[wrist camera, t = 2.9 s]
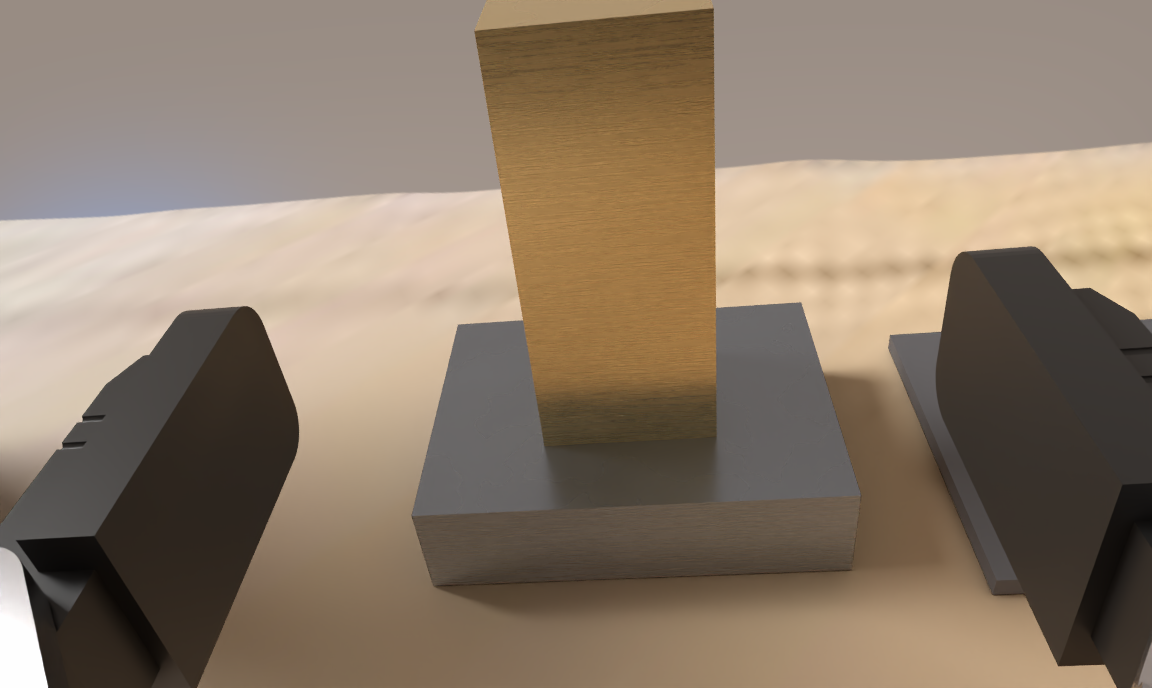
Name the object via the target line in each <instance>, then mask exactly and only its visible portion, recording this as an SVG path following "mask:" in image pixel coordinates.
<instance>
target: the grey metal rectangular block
mask: <svg viewBox="0 0 1152 688" xmlns="http://www.w3.org/2000/svg"><path fill="white" fill-rule="evenodd" d="M716 404H717V437H710V438H691V439H671V440H652V441H633V442H614V443H594V444H575V445H556V446H544V441H543V435H542V429H541V423H540V417H539V411H538V405H537V400H536V394H535V388H534V382H533V376H532V370H531V364H530V358H529V352H528V346H527V340H526V334H525V328H524V322H523V321H507V322H492V323H476V324H461V325H458V327H457V331H456V335H455V340H454V344H453V348H452V352H451V356H450V360H449V364H448V368H447V372H446V377H445V381H444V385H443V389H442V393H441V397H440V401H439V405H438V409H437V414H436V418H435V422H434V426H433V430H432V434H431V438H430V442H429V446H428V451H427V455H426V459H425V463H424V467H423V471H422V475H421V479H420V484H419V488H418V492H417V496H416V500H415V504H414V508H413V512H412V519H413V522H414V525H415V529H416V532H417V535H418V538H419V541H420V545H421V548H422V551H423V554H424V557H425V561H426V564H427V567H428V570H429V573H430V577H431V580H432V583H433V586H442V585H468V584H494V583H520V582H546V581H572V580H598V579H624V578H650V577H676V576H702V575H728V574H754V573H780V572H806V571H833V570H851V568H852V561H853V554H854V546H855V539H856V531H857V524H858V516H859V509H860V501H861V493H860V490H859V487H858V484H857V480H856V477H855V474H854V471H853V468H852V464H851V461H850V458H849V455H848V451H847V448H846V445H845V442H844V439H843V435H842V432H841V429H840V426H839V423H838V419H837V416H836V413H835V410H834V407H833V403H832V400H831V397H830V394H829V390H828V387H827V384H826V381H825V378H824V374H823V371H822V368H821V365H820V362H819V358H818V355H817V352H816V349H815V346H814V342H813V339H812V336H811V333H810V329H809V326H808V323H807V320H806V317H805V313H804V310H803V307H802V304H801V303H785V304H770V305H754V306H739V307H723V308H716Z"/></svg>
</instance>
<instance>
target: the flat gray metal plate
mask: <svg viewBox="0 0 1152 688" xmlns="http://www.w3.org/2000/svg"><path fill="white" fill-rule="evenodd" d="M1140 321H1141V322H1142V323H1143V324H1144V325H1145V326H1146V328H1147V329H1148V330H1149V331H1150V332H1151V333H1152V319H1146V320H1140ZM940 338H941V332H933V333H917V334H900V335H890V340H889V347H888V349H889V351H890V353H891V356H892V358H893V360H894V363H895V365H896V368H897V370H898V372H899V375H900V377H901V379H902V382H903V384H904V386H905V389H906V391H907V394H908V396H909V398H910V401H911V403H912V405H913V408H914V410H915V412H916V415H917V417H918V420H919V422H920V424H921V427H922V429H923V431H924V434H925V436H926V438H927V441H928V443H929V446H930V448H931V450H932V453H933V455H934V457H935V460H936V462H937V464H938V467H939V469H940V472H941V474H942V476H943V479H944V481H945V483H946V486H947V488H948V490H949V493H950V495H951V498H952V500H953V502H954V505H955V507H956V509H957V512H958V514H959V516H960V519H961V521H962V524H963V526H964V528H965V531H966V533H967V535H968V538H969V540H970V542H971V545H972V547H973V550H974V552H975V554H976V557H977V559H978V561H979V564H980V566H981V568H982V571H983V573H984V576H985V578H986V580H987V583H988V585H989V587H990V590H991V592H992V594H993V595H997V594H1024V592H1023V590H1022V588H1021V585H1020V583H1019V581H1018V579H1017V577H1016V575H1015V573H1014V571H1013V568H1012V566H1011V564H1010V562H1009V560H1008V558H1007V556H1006V553H1005V551H1004V549H1003V547H1002V545H1001V543H1000V541H999V538H998V536H997V534H996V532H995V530H994V528H993V526H992V523H991V521H990V519H989V517H988V515H987V513H986V511H985V509H984V506H983V504H982V502H981V500H980V498H979V496H978V494H977V491H976V489H975V487H974V485H973V483H972V481H971V479H970V476H969V474H968V472H967V470H966V468H965V466H964V464H963V461H962V459H961V457H960V455H959V453H958V451H957V449H956V447H955V444H954V442H953V440H952V438H951V436H950V434H949V432H948V429H947V427H946V425H945V423H944V421H943V418H942V416H941V412H940V409H939V405H938V400H937V393H936V363H937V356H938V350H939V344H940Z"/></svg>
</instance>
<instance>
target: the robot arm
mask: <svg viewBox="0 0 1152 688" xmlns="http://www.w3.org/2000/svg"><path fill="white" fill-rule="evenodd" d="M936 393H937V400H938V405H939V409H940V412H941V416H942V418H943V421H944V423H945V425H946V427H947V429H948V432H949V434H950V436H951V438H952V440H953V442H954V444H955V447H956V449H957V451H958V453H959V455H960V457H961V459H962V461H963V464H964V466H965V468H966V470H967V472H968V474H969V476H970V479H971V481H972V483H973V485H974V487H975V489H976V491H977V494H978V496H979V498H980V500H981V502H982V504H983V506H984V509H985V511H986V513H987V515H988V517H989V519H990V521H991V523H992V526H993V528H994V530H995V532H996V534H997V536H998V538H999V541H1000V543H1001V545H1002V547H1003V549H1004V551H1005V553H1006V556H1007V558H1008V560H1009V562H1010V564H1011V566H1012V568H1013V571H1014V573H1015V575H1016V577H1017V579H1018V581H1019V583H1020V585H1021V588H1022V590H1023V592H1024V594H1025V596H1026V598H1027V600H1028V603H1029V605H1030V607H1031V609H1032V611H1033V613H1034V615H1035V618H1036V620H1037V622H1038V624H1039V626H1040V628H1041V630H1042V632H1043V635H1044V637H1045V639H1046V641H1047V643H1048V645H1049V647H1050V650H1051V652H1052V654H1053V656H1054V658H1055V660H1056V662H1057V665H1058V666H1078V665H1106V667H1107V669H1108V671H1109V673H1110V675H1111V677H1112V679H1113V681H1114V683H1115V685H1116V687H1117V688H1152V333H1151V332H1150V331H1149V330H1148V329H1147V328H1146V326H1145V325H1144V324H1143V323H1142V322H1141V321H1140V320H1139V318H1138V317H1137V316H1136V315H1135V314H1134V313H1132V312H1130V311H1129V310H1127V309H1125V308H1124V307H1122V306H1120V305H1118V304H1117V303H1115V302H1113V301H1112V300H1110V299H1108V298H1106V297H1105V296H1103V295H1101V294H1100V293H1098V292H1096V291H1094V290H1093V289H1091V288H1083V289H1071V288H1070V286H1069V285H1068V284H1067V283H1066V281H1065V280H1064V279H1063V278H1062V276H1061V275H1060V274H1059V273H1058V271H1057V270H1056V269H1055V268H1054V266H1053V265H1052V264H1051V263H1050V261H1049V260H1048V259H1047V258H1046V256H1045V255H1044V254H1043V253H1042V252H1041V251H1040V250H1039V249H1038V248H1036V247H1032V246H1031V247H1018V248H1006V249H993V250H980V251H967V252H961V253H960V254H958V256H957V257H956V259H955V261H954V263H953V267H952V271H951V276H950V282H949V288H948V294H947V300H946V307H945V313H944V319H943V325H942V331H941V338H940V344H939V350H938V356H937V363H936ZM82 418H83V421H82V422H80V423H77V424H76V425H75V426H74V428H73V429H72V430H71V432H70V433H69V434H68V435H67V437H66V438H65V439H64V441H63V442H62V444H63V448H62V449H61V450H56V451H55V453H54V454H53V455H52V457H51V458H50V459H49V461H48V462H47V463H46V465H45V466H44V467H43V469H42V470H41V471H40V473H39V474H38V475H37V477H36V478H35V479H34V480H33V482H32V483H31V484H30V486H29V487H28V488H27V490H26V491H25V492H24V494H23V495H22V496H21V498H20V499H19V500H18V502H17V503H16V504H15V506H14V507H13V508H12V510H11V511H10V512H9V514H8V515H7V516H6V518H5V519H4V520H3V522H2V523H1V524H0V688H197V686H198V684H199V681H200V679H201V677H202V674H203V672H204V670H205V667H206V665H207V663H208V660H209V658H210V655H211V653H212V651H213V648H214V646H215V644H216V641H217V639H218V637H219V634H220V632H221V630H222V627H223V625H224V623H225V620H226V618H227V616H228V613H229V611H230V609H231V606H232V604H233V602H234V599H235V597H236V595H237V592H238V590H239V588H240V585H241V583H242V581H243V578H244V576H245V574H246V571H247V569H248V567H249V564H250V562H251V559H252V557H253V555H254V552H255V550H256V548H257V545H258V543H259V541H260V538H261V536H262V534H263V531H264V529H265V527H266V524H267V522H268V520H269V517H270V515H271V513H272V510H273V508H274V506H275V503H276V501H277V499H278V496H279V494H280V492H281V489H282V487H283V485H284V482H285V480H286V478H287V475H288V473H289V470H290V468H291V466H292V463H293V461H294V459H295V456H296V452H297V448H298V442H299V423H298V416H297V411H296V407H295V404H294V402H293V399H292V396H291V394H290V391H289V389H288V386H287V384H286V381H285V379H284V376H283V373H282V371H281V368H280V366H279V363H278V361H277V358H276V356H275V353H274V350H273V348H272V345H271V343H270V340H269V338H268V335H267V333H266V330H265V327H264V325H263V323H262V320H261V319H260V317H259V315H258V314H257V313H256V312H255V310H253V309H252V308H250V307H248V306H242V307H229V308H216V309H203V310H191V311H185V312H182V313H181V314H179V315H178V316H177V317H176V319H175V320H174V321H173V323H172V324H171V326H170V327H169V328H168V330H167V331H166V332H165V334H164V335H163V337H162V338H161V339H160V341H159V342H158V344H157V345H156V346H155V348H154V349H153V350H152V352H151V353H150V355H145V356H142V357H141V358H140V359H139V360H137V361H136V362H135V363H133V364H132V365H131V366H129V367H128V368H127V369H125V370H124V371H123V372H122V373H120V374H119V375H118V376H116V377H115V378H114V379H112V380H111V381H110V382H109V383H107V384H106V385H105V386H104V388H103V389H102V390H101V392H100V393H99V394H98V396H97V397H96V398H95V400H94V401H93V402H92V404H91V405H90V406H89V408H88V409H87V410H86V412H85V413H84V414H83V416H82Z"/></svg>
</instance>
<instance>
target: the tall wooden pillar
mask: <svg viewBox="0 0 1152 688" xmlns="http://www.w3.org/2000/svg"><path fill="white" fill-rule="evenodd" d="M475 37H476V43H477V49H478V55H479V60H480V67H481V73H482V79H483V85H484V91H485V96H486V103H487V109H488V115H489V120H490V126H491V132H492V138H493V144H494V150H495V156H496V162H497V168H498V174H499V179H500V186H501V192H502V198H503V204H504V210H505V215H506V221H507V227H508V233H509V239H510V245H511V251H512V257H513V263H514V269H515V275H516V281H517V287H518V293H519V299H520V305H521V310H522V316H523V322H524V328H525V334H526V340H527V346H528V352H529V358H530V364H531V370H532V376H533V382H534V388H535V394H536V400H537V405H538V411H539V417H540V423H541V429H542V435H543V441H544V446H556V445H575V444H594V443H614V442H633V441H652V440H671V439H691V438H710V437H717V404H716V265H715V134H714V133H715V132H714V131H715V128H714V8H713V5H712V2H711V0H487V1H486V3H485V6H484V9H483V11H482V13H481V16H480V18H479V21H478V23H477V26H476V28H475Z"/></svg>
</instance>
